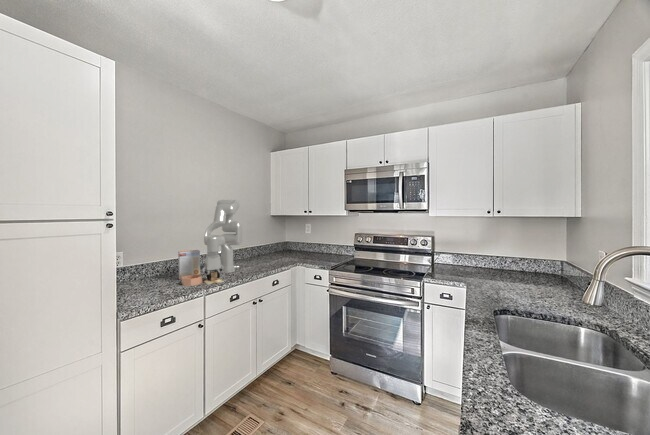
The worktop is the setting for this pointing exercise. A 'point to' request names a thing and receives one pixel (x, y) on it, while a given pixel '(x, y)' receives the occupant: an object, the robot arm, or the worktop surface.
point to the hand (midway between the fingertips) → (213, 278)
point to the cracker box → (189, 263)
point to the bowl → (191, 280)
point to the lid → (213, 278)
